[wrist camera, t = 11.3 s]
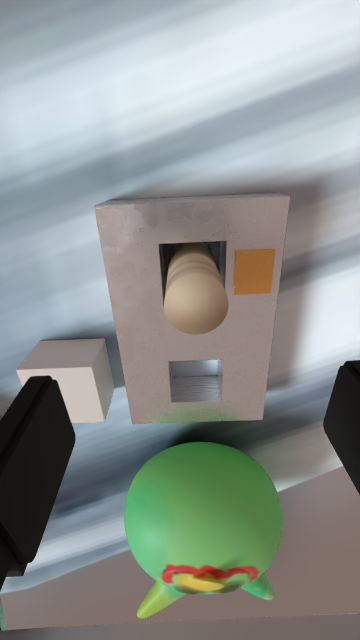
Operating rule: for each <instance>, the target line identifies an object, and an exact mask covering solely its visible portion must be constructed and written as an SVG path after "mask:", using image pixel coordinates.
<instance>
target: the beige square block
mask: <svg viewBox="0 0 360 640" xmlns="http://www.w3.org/2000/svg"><path fill="white" fill-rule="evenodd" d="M16 371H17V374H18V376H19V379H20V381H21V384H22V386H24V384H25V383H26V381H27V380H28V379H29V378H30V377H31V376H45V375H49V376H51V377H52V379H53V380H54V379H55V380H57V382H58V385H59V388H60V391H61V394H62V396H63V399H64V402H65V405H66V408H67V411H68V414H69V417H70V420H71V423H90V422H105V419H106V416H107V413H108V409H109V406H110V403H111V399H112V396H113V393H114V389H115V388H114V383H113V378H112V373H111V368H110V363H109V358H108V353H107V348H106V343H105V338H99V339H73V340H47V341H39V342H38V344H37V345H36V346H35V347H34V348H33V350H32V351H31V352H30V353H29V355H28V356H27V357H26V358H25V359H24V361H23V362H22V363H21V364H20V365H19V367H18V368H17V369H16Z"/></svg>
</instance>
